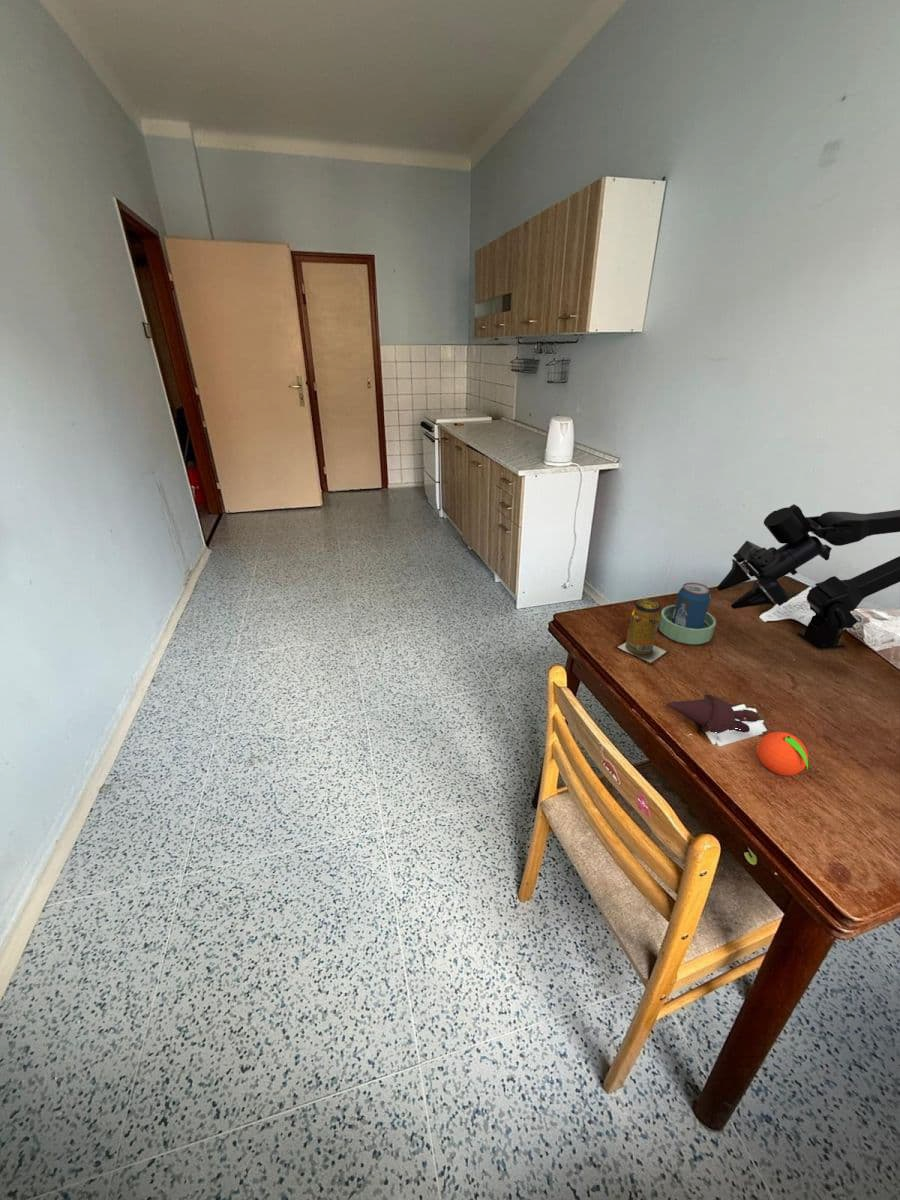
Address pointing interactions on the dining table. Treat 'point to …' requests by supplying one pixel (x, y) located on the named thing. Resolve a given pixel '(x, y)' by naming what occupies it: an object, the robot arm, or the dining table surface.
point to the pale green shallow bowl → (685, 628)
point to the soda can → (691, 605)
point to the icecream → (715, 714)
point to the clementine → (782, 753)
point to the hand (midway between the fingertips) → (724, 597)
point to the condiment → (643, 631)
